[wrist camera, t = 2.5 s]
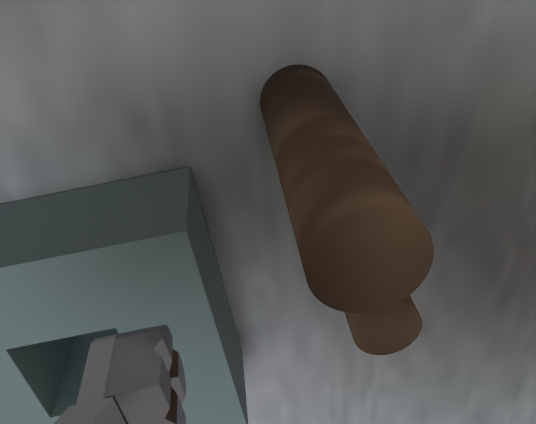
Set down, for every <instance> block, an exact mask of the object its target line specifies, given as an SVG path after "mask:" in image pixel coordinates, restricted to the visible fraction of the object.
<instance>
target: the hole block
mask: <svg viewBox="0 0 536 424" xmlns="http://www.w3.org/2000/svg"><path fill="white" fill-rule="evenodd" d="M160 325H167V326H168V327H169V329H170V332H171V334H172V336H173V349H174V350H175V351H177V352H179V355H180V358H181V360H182V364H183V368H184V373H185V381H186V398H185V399H184V401H183V402H182V404H181V405H182V407H183V410H184V412H185V415H186V424H248V416H247V404H246V392H245V380H244V368H243V357H242V350H241V347H240V343H239V340H238V336H237V332H236V329H235V325H234V322H233V318H232V315H231V311H230V308H229V304H228V301H227V297H226V293H225V290H224V286H223V283H222V279H221V276H220V272H219V269H218V265H217V261H216V258H215V254H214V251H213V247H212V244H211V240H210V237H209V233H208V229H207V226H206V222H205V219H204V215H203V212H202V208H201V205H200V201H199V197H198V194H197V190H196V187H195V183H194V180H193V176H192V173H191V169H190V167H186V168H181V169H176V170H171V171H165V172H160V173H155V174H150V175H145V176H140V177H135V178H130V179H125V180H120V181H115V182H110V183H105V184H100V185H95V186H90V187H85V188H80V189H75V190H70V191H64V192H59V193H54V194H49V195H44V196H39V197H34V198H29V199H24V200H19V201H14V202H9V203H4V204H0V424H54V423H55V421H56V420H57V419H58V418H59V417H60V416H61V415H62V414H63V412H64V411H65V410H66V409H67V408H68V407H69V406H73V405H76V403H77V399H78V395H79V390H80V386H81V382H82V378H83V373H84V369H85V365H86V360H87V356H88V352H89V348H90V344H91V343H92V342H93V340H94V339H96V338H101V337H106V336H111V335H117V334H119V333H124V332H129V331H134V330H139V329H144V328H149V327H155V326H160Z"/></svg>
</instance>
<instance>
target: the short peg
mask: <svg viewBox="0 0 536 424" xmlns="http://www.w3.org/2000/svg"><path fill="white" fill-rule="evenodd" d="M345 315H346V318H347V321H348V324H349V327H350V330H351V333H352V336H353V339H354V342H355V344H356V345H357V347H358V348H359V349H361V350H362V351H364V352H366V353H369V354H374V355H386V354H391V353H395V352H398V351H400V350H402V349H404V348H406V347H407V346H409V345H410V344H411V343H412V342H413V341H414V340H415V339H416V338H417V337H418V335H419V333H420V331H421V328H422V319H421V317H420V315H419V313H418V311H417V309H416V307H415V305H414V303H413V301H412V299H411V297H410V295H408V296H407V297H405V298H404V299H403V300H401V301H399V302H397V303H396V304H393V305H391V306H389V307H386V308H383V309H380V310H376V311H372V312H365V313H349V312H345Z"/></svg>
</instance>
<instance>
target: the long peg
mask: <svg viewBox="0 0 536 424" xmlns="http://www.w3.org/2000/svg"><path fill="white" fill-rule="evenodd" d="M260 106H261V111H262V115H263V118H264V122H265V126H266V130H267V133H268V137H269V141H270V145H271V148H272V152H273V156H274V160H275V163H276V167H277V171H278V175H279V178H280V182H281V186H282V190H283V193H284V197H285V201H286V205H287V208H288V212H289V216H290V220H291V223H292V227H293V231H294V235H295V238H296V242H297V246H298V250H299V253H300V257H301V261H302V265H303V268H304V272H305V276H306V280H307V283H308V286H309V288H310V290H311V291H312V293H313V294H314V296H315V297H316V298H317V299H318V300H320V301H321V302H322V303H323V304H325V305H327V306H329V307H331V308H333V309H336V310H339V311H343V312H349V313H365V312H372V311H376V310H380V309H383V308H386V307H389V306H391V305H393V304H396V303H397V302H399V301H401V300H403V299H404V298H405V297H407V296H408V295H410V294H411V293H412V292H413V291H414V290H415V289H416V288H417V287H418V286H419V285H420V284H421V283H422V281H423V280H424V279H425V277H426V275H427V273H428V272H429V269H430V267H431V264H432V260H433V243H432V239H431V237H430V234H429V232H428V231H427V229H426V228H425V226H424V225H423V223H422V222H421V220H420V219H419V217H418V216H417V214H416V213H415V211H414V210H413V208H412V207H411V205H410V204H409V202H408V201H407V199H406V198H405V196H404V195H403V193H402V192H401V190H400V189H399V187H398V186H397V184H396V183H395V181H394V180H393V178H392V177H391V175H390V174H389V172H388V171H387V169H386V168H385V166H384V165H383V163H382V162H381V160H380V159H379V157H378V156H377V154H376V153H375V151H374V150H373V148H372V147H371V145H370V144H369V142H368V141H367V139H366V138H365V136H364V135H363V133H362V132H361V130H360V129H359V127H358V126H357V124H356V123H355V121H354V120H353V118H352V117H351V115H350V114H349V112H348V111H347V109H346V108H345V106H344V105H343V103H342V102H341V100H340V99H339V97H338V96H337V94H336V93H335V91H334V90H333V88H332V87H331V85H330V84H329V82H328V81H327V79H326V78H325V77H324V76H323V74H322V73H320V72H319V71H318V70H316V69H314V68H312V67H310V66H306V65H291V66H287V67H284V68H282V69H280V70H278V71H277V72H276V73H274V74H273V75H272V76H271V77H270V78H269V79H268V81H267V82H266V84H265V85H264V87H263V90H262V93H261V98H260Z"/></svg>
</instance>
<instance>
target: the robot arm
mask: <svg viewBox="0 0 536 424" xmlns="http://www.w3.org/2000/svg"><path fill="white" fill-rule="evenodd" d="M185 398H186V381H185V373H184V368H183V364H182V360H181V358H180V355H179V352H177V351H175V350H174V349H173V336H172V334H171V332H170V329H169V327H168V326H167V325H160V326H155V327H149V328H144V329H139V330H134V331H129V332H124V333H119V334H117V335H111V336H106V337H101V338H96V339H94V340H93V342H92V343H91V344H90V348H89V352H88V356H87V360H86V365H85V369H84V373H83V378H82V382H81V386H80V390H79V395H78V399H77V403H76V405H73V406H69V407H68V408H67V409H66V410H65V411H64V412H63V414H62V415H61V416H60V417H59V418H58V419H57V420H56V421H55V423H54V424H186V415H185V412H184V410H183V407H182V405H181V404H182V402H183V401H184V399H185Z"/></svg>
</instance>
